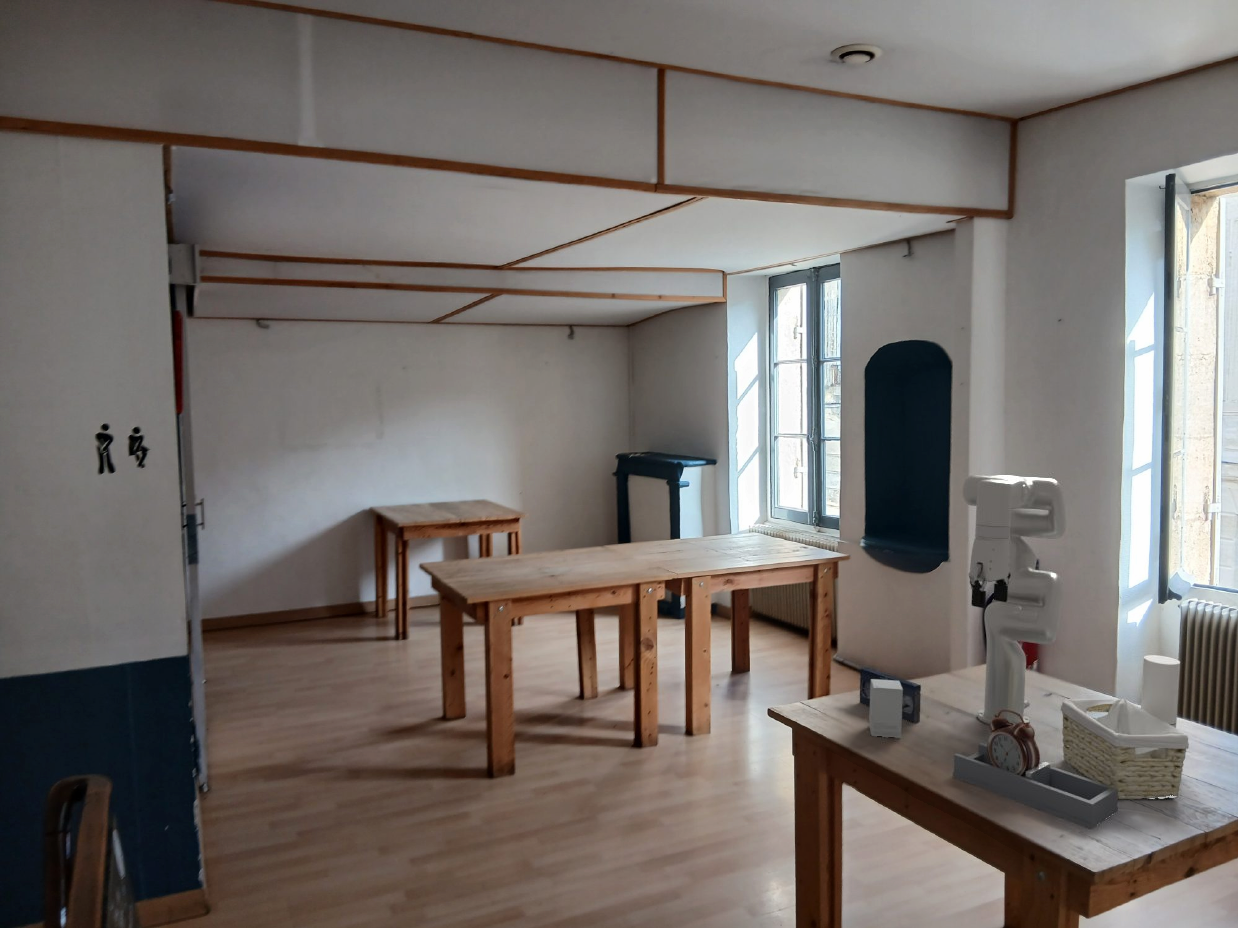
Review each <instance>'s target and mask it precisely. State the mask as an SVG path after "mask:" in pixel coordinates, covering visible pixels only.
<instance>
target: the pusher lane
mask: <svg viewBox="0 0 1238 928" xmlns="http://www.w3.org/2000/svg"><path fill="white" fill-rule="evenodd" d="M987 744H988V743H984V742H980V743H978V752H975V753H974V754H971V755H970V756H966V755H963V754H959V753H955V754H953V757H954V758H953V771H952V777H953V778H955V779H959V780H960V781H963V782H965V783H969V784H971V785H974V786H975V787H979V788H981V789H983V790H987V791H990V792H992V793H995V794H998V795H1000V796H1003V797H1004V798H1008V799H1010V800H1013V801H1015V802H1018V803H1020V804H1024V805H1026V806H1029V807H1031V808H1035V809H1037V810H1040V811H1042V812H1044V813H1048V814H1050V815H1052V816H1055V817H1058V818H1060V819H1063V820H1065V821H1069V822H1071V823H1074V824H1076V825H1079V826H1081V827H1083V828H1087V829H1089V830H1092V829H1093V828H1095V827H1097V826H1098V825H1100V824H1101V823H1103V822H1104V821H1106V820H1107V819H1109V818H1110V817H1112V816H1113V815H1112V814H1114V813H1115V814H1117V813H1118V812H1117V811H1118V810H1119V808H1118V802H1119V801H1118V799H1119V798H1118V789H1117V788H1114V787H1111V786H1108V785H1105V784H1102V783H1099V782H1096V781H1093V780H1090V779H1089V778H1087V777H1086V776H1081V775H1079V774H1075V773H1072V772H1069V771H1066V770H1063V769H1061V768H1058V767H1055V766H1052V765H1050V782H1049V786H1047V785H1044V784H1042V783H1039V782H1036V781H1033V780H1030V779H1028V778H1026V776H1025V777H1022V776H1019V775H1016V774H1014V773H1011V772H1008V771H1005V770H1002V769H1000V768H997V767H994V766H993V764H992V763H991V760H990V758H989V755H988V750H987ZM1041 763H1042V762H1041V761H1040V762H1039V764H1041ZM1116 812H1117V813H1116ZM1115 814H1114V815H1115ZM1111 815H1112V816H1111ZM1109 816H1110V817H1109ZM1108 817H1109V818H1108ZM1106 818H1107V819H1106ZM1105 819H1106V820H1105ZM1102 821H1103V822H1102ZM1099 823H1100V824H1099ZM1097 824H1098V825H1097Z"/></svg>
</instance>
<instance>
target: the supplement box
mask: <svg viewBox="0 0 1238 928" xmlns="http://www.w3.org/2000/svg"><path fill="white" fill-rule="evenodd" d="M902 698H903V689H902V686H901V684H900V681H895V680H878V679H871V685H870V707H869V716H868V717H869V718H868V719H869V722H868V727H869V731H870V734H871V737H877V736H882V737H881V738H888V737H895V738H894V739H901V738H902V728H903V727H902V726H903V725H902V724H903V723H902V721H903V719H902Z"/></svg>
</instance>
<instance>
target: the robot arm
mask: <svg viewBox="0 0 1238 928" xmlns="http://www.w3.org/2000/svg"><path fill="white" fill-rule="evenodd" d="M961 490H962V491H961V493H962V497H963V501H964V502H965V503H966V505H968V506H971V507H975V508H976V509H975V510H976V512H975V529H974V530H975V532H974V540H973V544H972V548H971V556H970V557H971V558H970V566H969V573H968V578H969V584H970V589H971V603H970V604H971V606H972V607H974V608H975V607H976V608H980V609H981V608H982V609H985V610H984V617H983V618H984V627H985V628H984V629H985V634H986V659H985V660H986V661H985V682H984V683H985V687H984V688H985V689H984V705H983V706H984V707H983V708H982V709H979V711H977V718H978V719H979V720H980V721H981V722H982V723H985V724H987V725H989V726H990V722H991V721H992V720H993V719H995V718H994V715H998V713H999V711H1001V710H1010V711H1014V712H1016V713H1018V714H1020V715H1021V716H1022V718H1023V720H1024V722H1025V723H1027V722H1028V723H1029V725H1031V724H1030V723H1031V719H1030V718H1029V717H1028V716H1027V715H1026V714H1024V713H1025V712H1024V711H1025V709H1027V708H1029V707H1031V706H1030V702H1029V700H1026V699H1025V695H1026V694H1025V692H1026V690H1025V688H1026V672H1027V671H1026V668H1027V657H1026V654H1025V652H1024V650H1023V648H1022V647H1021V645H1020V644H1019V642H1024V643H1025V642H1027V643H1033V644H1039V645H1050V644H1053V643H1054V642H1055V641H1056V639H1057V636H1058V634H1059V633H1058V632H1059V627H1060V619H1061V614H1062V607H1063V599H1064V598H1063V597H1064V583H1063V579H1062V578H1061V576H1060V575H1059V574H1057V573H1055V572H1053V571H1049V570H1040V569H1036V565H1037V560H1038V558H1037V554H1036V553H1035V552H1034V550H1033V549H1032V547H1031V546H1030V545H1029V544H1028V543H1027V542H1026V541H1025V540H1024V539H1023V538H1024V537H1025V538H1037V539H1047V540H1058V539H1060V538H1062V537H1063V536H1064V534H1065V532H1066V528H1067V515H1066V504H1065V497H1064V492H1063V487H1062V486H1061V484H1060V483H1059V482H1058V480H1056V479H1055V478H1047V477H1031V476H1030V477H1029V476H1018V475H977V474H976V475H975V474H971V475H969V476H967V478H965V480H964V482H963V485H962V489H961ZM1022 537H1023V538H1022ZM980 582H981V583H980ZM992 582H995V583H993V600H994V601H995V602H991V603H989V604H988V605H987V606H986V603H987V601H986V600H987V591H986V590H985V589H986V587H987V586H988V585H987V584H988V583H992ZM999 717H1003V718H1006V719H1007V720H1008V721H1009V723H1013V726H1015V725H1016V724H1017V723H1020V722H1022V721H1021V719H1020V717H1019V716H1018V715H1016V714H1014V713H1010V712H1002V713H1001V714H1000V716H999ZM1009 727H1010V726H1009ZM1011 727H1012V726H1011Z"/></svg>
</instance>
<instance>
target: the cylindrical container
mask: <svg viewBox="0 0 1238 928" xmlns="http://www.w3.org/2000/svg"><path fill="white" fill-rule="evenodd" d="M1142 665H1143V666H1142V667H1143V668H1142V684H1141V685H1142V686H1141V699H1140V701H1141V702H1140V703H1141V704H1140V708H1141V709H1143V710H1145V711H1146V712H1148V713H1150V714H1151V715H1153V716H1155V717H1157V718H1159V719H1160V720H1162V721H1164V722H1166V723H1168V724H1169V725H1171V726H1173V727H1175V728H1176V729H1177V721H1178V720H1177V719H1178V705H1179V703H1178V701H1179V685H1180V670H1181V669H1180V668H1181V661H1180V660H1178V659H1176V658H1173V657H1170V656H1164V655H1154V654H1149V655H1148V654H1147V655H1144V656H1143V663H1142Z"/></svg>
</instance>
